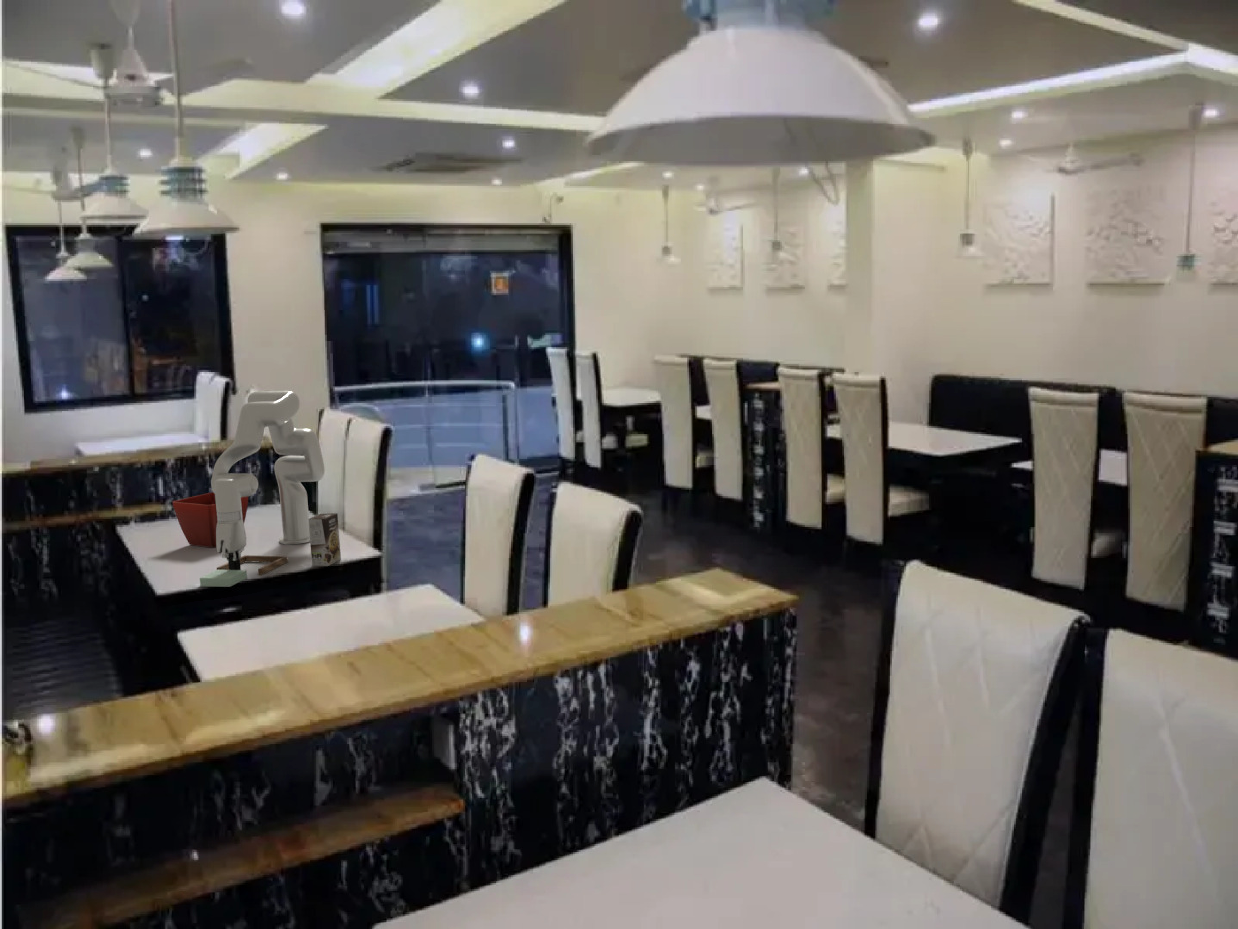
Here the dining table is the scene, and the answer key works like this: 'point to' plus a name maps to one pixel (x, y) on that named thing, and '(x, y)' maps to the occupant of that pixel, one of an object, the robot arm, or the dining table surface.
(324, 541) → the coffee box
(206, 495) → the plant pot
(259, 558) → the u-shaped wooden frame
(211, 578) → the cover plate
